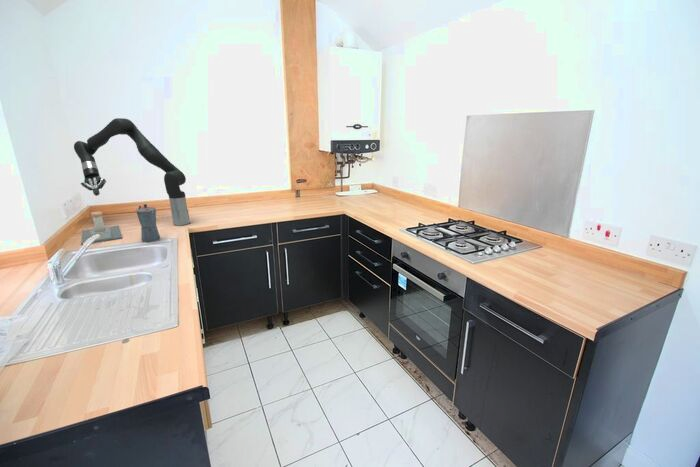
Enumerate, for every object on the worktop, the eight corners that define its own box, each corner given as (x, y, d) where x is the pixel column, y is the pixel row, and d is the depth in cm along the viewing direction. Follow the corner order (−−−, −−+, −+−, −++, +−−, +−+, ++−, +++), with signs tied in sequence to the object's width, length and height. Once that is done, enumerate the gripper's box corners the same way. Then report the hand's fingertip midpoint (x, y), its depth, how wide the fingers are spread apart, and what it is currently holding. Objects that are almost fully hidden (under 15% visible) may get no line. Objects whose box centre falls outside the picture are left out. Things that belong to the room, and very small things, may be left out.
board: (82, 232, 198) (82, 230, 198) (119, 226, 208) (118, 225, 208) (81, 245, 177) (81, 243, 177) (122, 238, 187) (122, 237, 187)
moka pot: (149, 244, 178) (142, 207, 172) (134, 239, 186) (126, 203, 180) (166, 239, 186) (160, 204, 180) (151, 234, 194) (145, 200, 187)
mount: (92, 235, 189) (90, 228, 188) (110, 232, 194) (109, 226, 193) (92, 241, 180) (90, 234, 179) (111, 238, 185) (110, 231, 184)
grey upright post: (96, 235, 189) (90, 212, 185) (106, 233, 192) (101, 210, 188) (96, 237, 185) (90, 213, 181) (107, 235, 188) (101, 212, 184)
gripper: (74, 169, 199) (81, 194, 195) (101, 165, 205) (107, 189, 201) (79, 176, 206) (86, 200, 202) (105, 171, 211) (111, 195, 207)
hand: (97, 194), depth 201 cm, fingers closed
